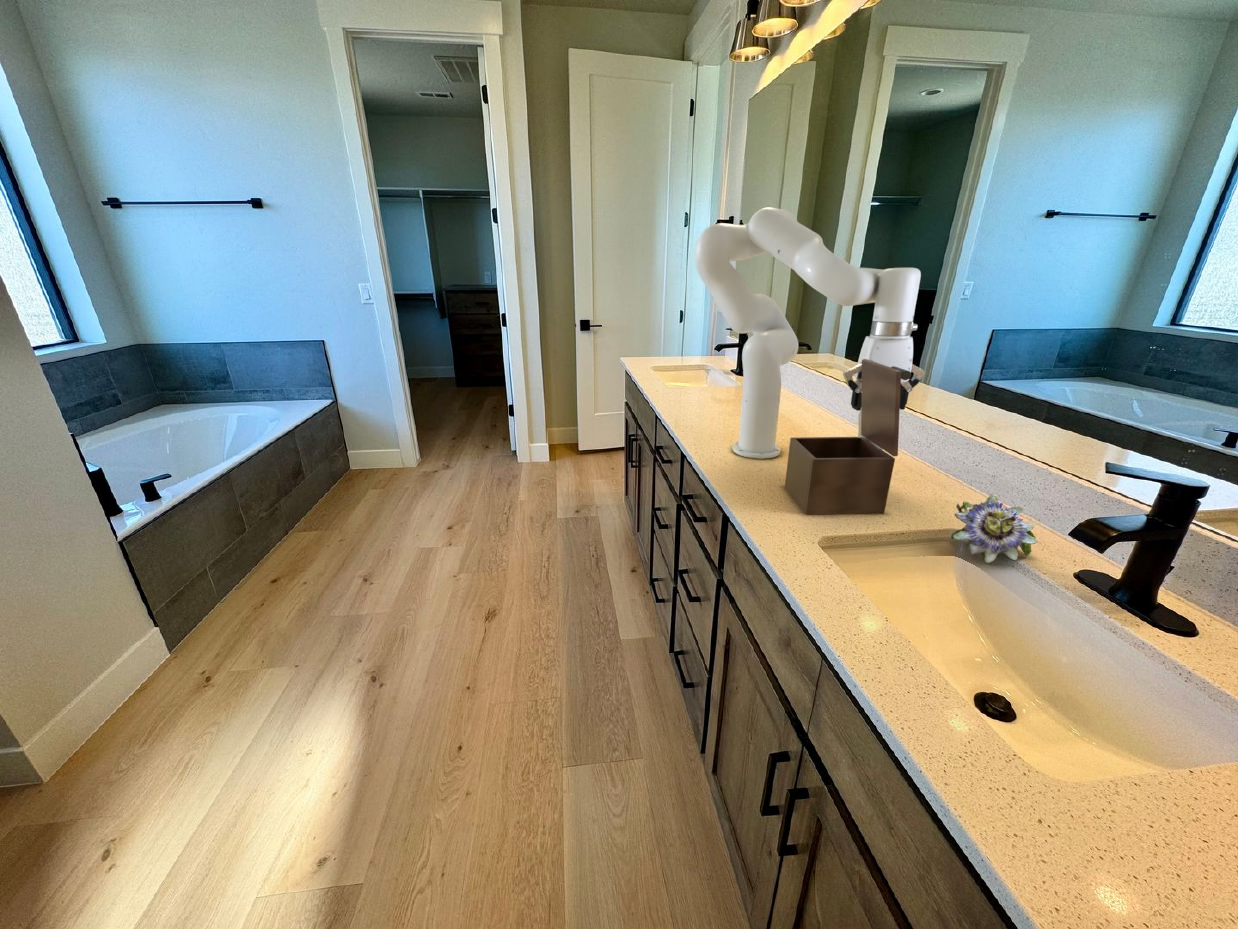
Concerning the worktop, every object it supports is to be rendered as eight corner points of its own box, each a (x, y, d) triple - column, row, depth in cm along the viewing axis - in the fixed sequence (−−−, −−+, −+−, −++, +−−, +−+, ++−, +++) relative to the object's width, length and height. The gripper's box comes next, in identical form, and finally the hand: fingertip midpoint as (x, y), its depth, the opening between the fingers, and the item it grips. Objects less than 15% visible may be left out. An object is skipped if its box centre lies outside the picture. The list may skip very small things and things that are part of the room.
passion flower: (979, 588, 83) (951, 540, 80) (957, 546, 92) (931, 501, 89) (1059, 566, 78) (1033, 513, 74) (1027, 524, 87) (1002, 474, 83)
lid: (896, 371, 88) (925, 367, 87) (861, 359, 100) (886, 355, 100) (893, 456, 94) (920, 452, 93) (861, 434, 106) (884, 431, 106)
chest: (805, 514, 98) (813, 459, 94) (784, 487, 111) (790, 437, 107) (884, 513, 98) (895, 458, 94) (853, 486, 111) (862, 436, 106)
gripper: (921, 327, 108) (907, 403, 114) (842, 329, 108) (832, 405, 114) (942, 330, 101) (926, 412, 107) (857, 332, 101) (846, 413, 107)
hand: (877, 408), depth 110 cm, fingers open, 9 cm apart
